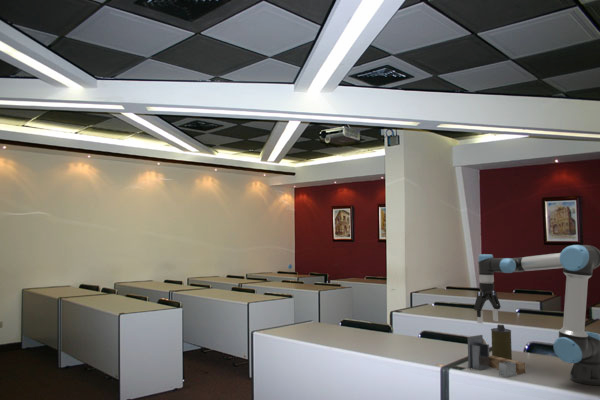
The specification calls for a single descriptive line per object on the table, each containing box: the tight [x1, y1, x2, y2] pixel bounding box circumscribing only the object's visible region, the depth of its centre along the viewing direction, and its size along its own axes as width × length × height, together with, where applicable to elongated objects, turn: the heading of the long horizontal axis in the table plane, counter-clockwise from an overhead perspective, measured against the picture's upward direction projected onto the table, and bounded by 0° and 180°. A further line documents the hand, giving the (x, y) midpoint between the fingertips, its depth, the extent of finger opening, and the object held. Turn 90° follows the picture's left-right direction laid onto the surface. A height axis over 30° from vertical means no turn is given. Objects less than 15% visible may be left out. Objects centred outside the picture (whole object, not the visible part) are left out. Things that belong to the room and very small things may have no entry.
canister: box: [490, 324, 513, 360], centre depth 258 cm, size 11×10×20 cm
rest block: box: [498, 361, 517, 378], centre depth 230 cm, size 4×8×6 cm, turn 123°
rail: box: [489, 355, 526, 375], centre depth 241 cm, size 18×5×5 cm, turn 33°
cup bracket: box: [467, 334, 491, 371], centre depth 244 cm, size 6×11×16 cm, turn 123°
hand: (488, 322), depth 252 cm, fingers open, 13 cm apart
